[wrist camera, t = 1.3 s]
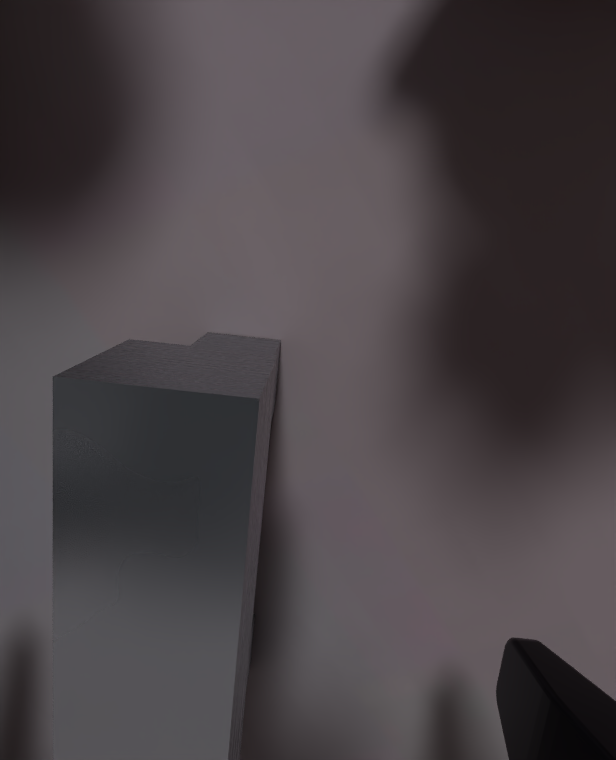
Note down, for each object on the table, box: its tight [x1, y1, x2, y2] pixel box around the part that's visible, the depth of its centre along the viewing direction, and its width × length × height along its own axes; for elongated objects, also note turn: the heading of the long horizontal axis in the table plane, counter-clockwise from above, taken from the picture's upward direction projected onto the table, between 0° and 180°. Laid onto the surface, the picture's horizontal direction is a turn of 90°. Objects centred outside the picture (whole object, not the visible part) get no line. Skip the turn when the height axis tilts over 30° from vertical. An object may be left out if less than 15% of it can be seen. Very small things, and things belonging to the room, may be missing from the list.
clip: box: [53, 333, 281, 760], centre depth 9 cm, size 2×8×6 cm, turn 174°
